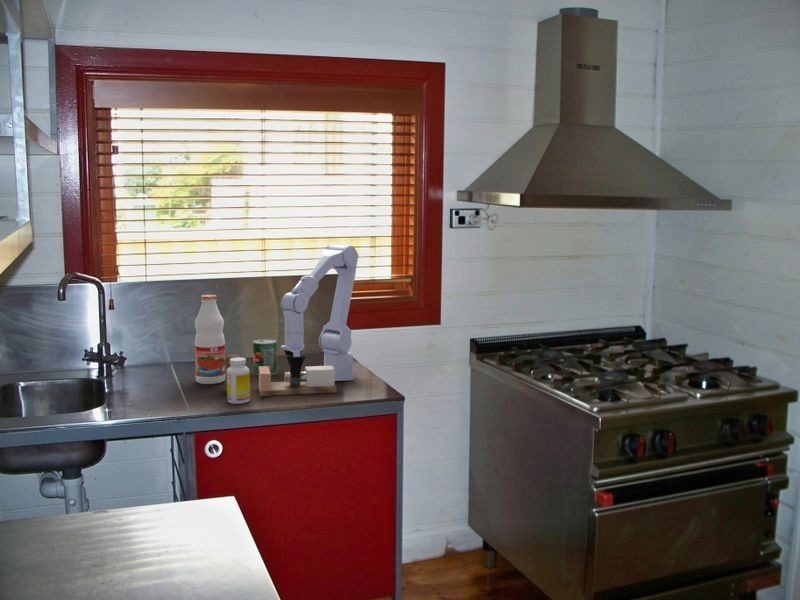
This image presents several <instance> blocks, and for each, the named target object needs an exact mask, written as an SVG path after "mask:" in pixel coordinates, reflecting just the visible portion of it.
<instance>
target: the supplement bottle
mask: <svg viewBox="0 0 800 600" xmlns="http://www.w3.org/2000/svg"><path fill="white" fill-rule="evenodd" d="M246 363H247V359H246V357H241V358H240V357H237V358H231V359H230V365H231V367H229V368H228V369H227V391H226V394H227V395H226V397H227V399H226V400H227V402H228V403H230V404H235V405H241V404H246V403H248V402H250V401H251V381H250V377H251V376H250V368H249V367H248V366H246Z"/></svg>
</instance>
